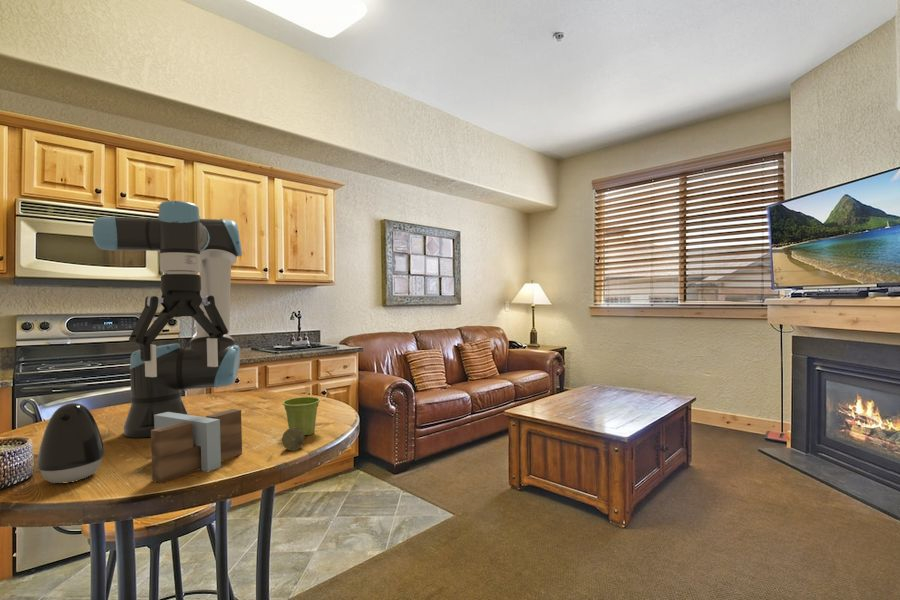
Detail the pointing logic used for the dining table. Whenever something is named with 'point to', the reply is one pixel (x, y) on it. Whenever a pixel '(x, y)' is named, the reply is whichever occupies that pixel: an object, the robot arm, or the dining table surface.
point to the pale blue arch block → (198, 435)
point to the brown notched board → (191, 446)
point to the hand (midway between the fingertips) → (183, 371)
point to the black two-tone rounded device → (70, 445)
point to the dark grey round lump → (293, 439)
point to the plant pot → (302, 413)
